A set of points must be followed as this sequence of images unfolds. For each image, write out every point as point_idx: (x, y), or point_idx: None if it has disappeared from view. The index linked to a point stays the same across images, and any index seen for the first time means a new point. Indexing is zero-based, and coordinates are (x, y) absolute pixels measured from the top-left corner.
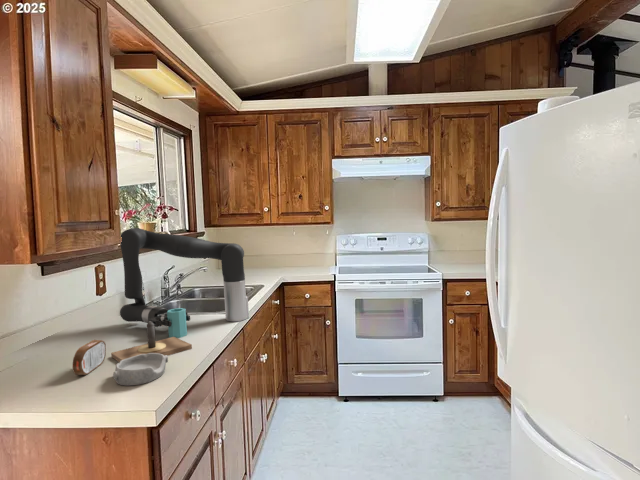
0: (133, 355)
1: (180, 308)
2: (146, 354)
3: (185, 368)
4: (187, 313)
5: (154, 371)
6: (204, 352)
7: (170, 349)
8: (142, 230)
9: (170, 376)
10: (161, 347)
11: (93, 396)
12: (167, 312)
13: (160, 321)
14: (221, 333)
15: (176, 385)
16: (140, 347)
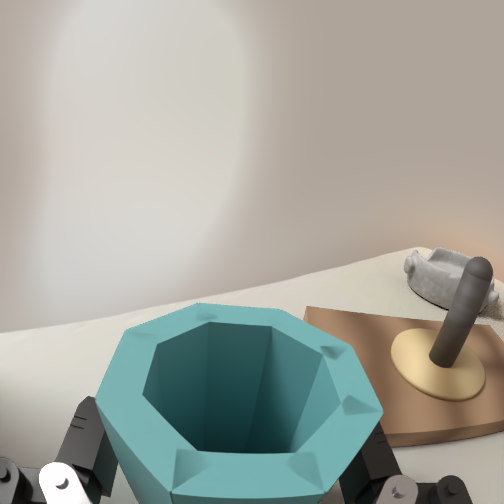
0: (485, 351)
1: (126, 393)
2: (451, 275)
3: (368, 269)
4: (5, 464)
5: (428, 257)
6: (293, 284)
7: (382, 319)
8: None
9: (398, 268)
10: (410, 336)
11: (496, 291)
12: (376, 414)
13: (415, 482)
14: (99, 331)
15: (394, 253)
16: (479, 380)
